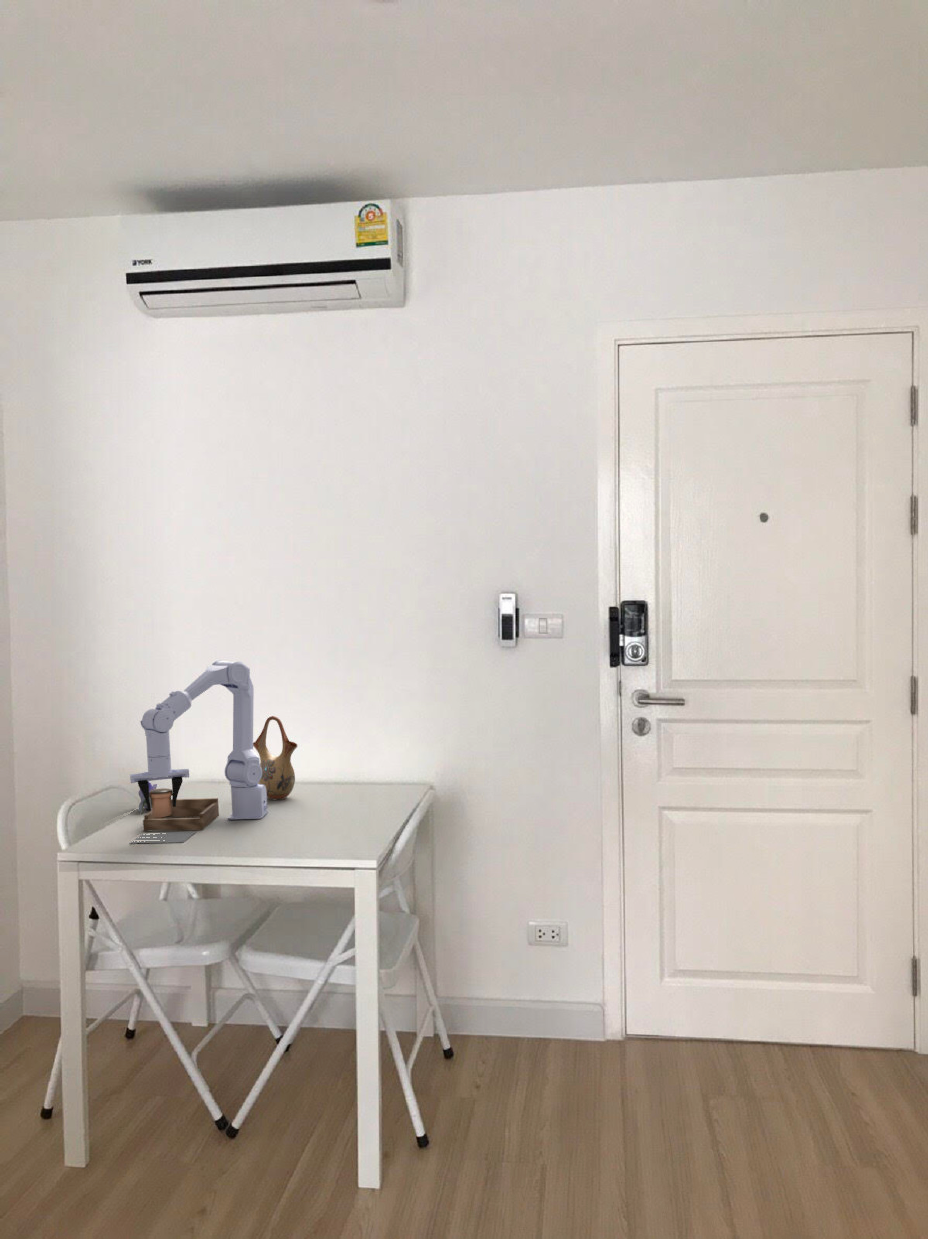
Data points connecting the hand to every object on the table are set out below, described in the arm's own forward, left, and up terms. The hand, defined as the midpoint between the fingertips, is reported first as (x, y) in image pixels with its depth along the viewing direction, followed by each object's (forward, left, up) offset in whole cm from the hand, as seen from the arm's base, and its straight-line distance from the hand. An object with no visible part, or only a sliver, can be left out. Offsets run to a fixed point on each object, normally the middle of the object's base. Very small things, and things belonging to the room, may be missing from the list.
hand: (161, 807), depth 261 cm
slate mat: (0, 0, -8) cm, 8 cm away
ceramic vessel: (-20, -42, -8) cm, 47 cm away
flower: (+15, -31, -8) cm, 35 cm away
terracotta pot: (0, -1, -2) cm, 2 cm away
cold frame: (0, -15, -8) cm, 17 cm away
